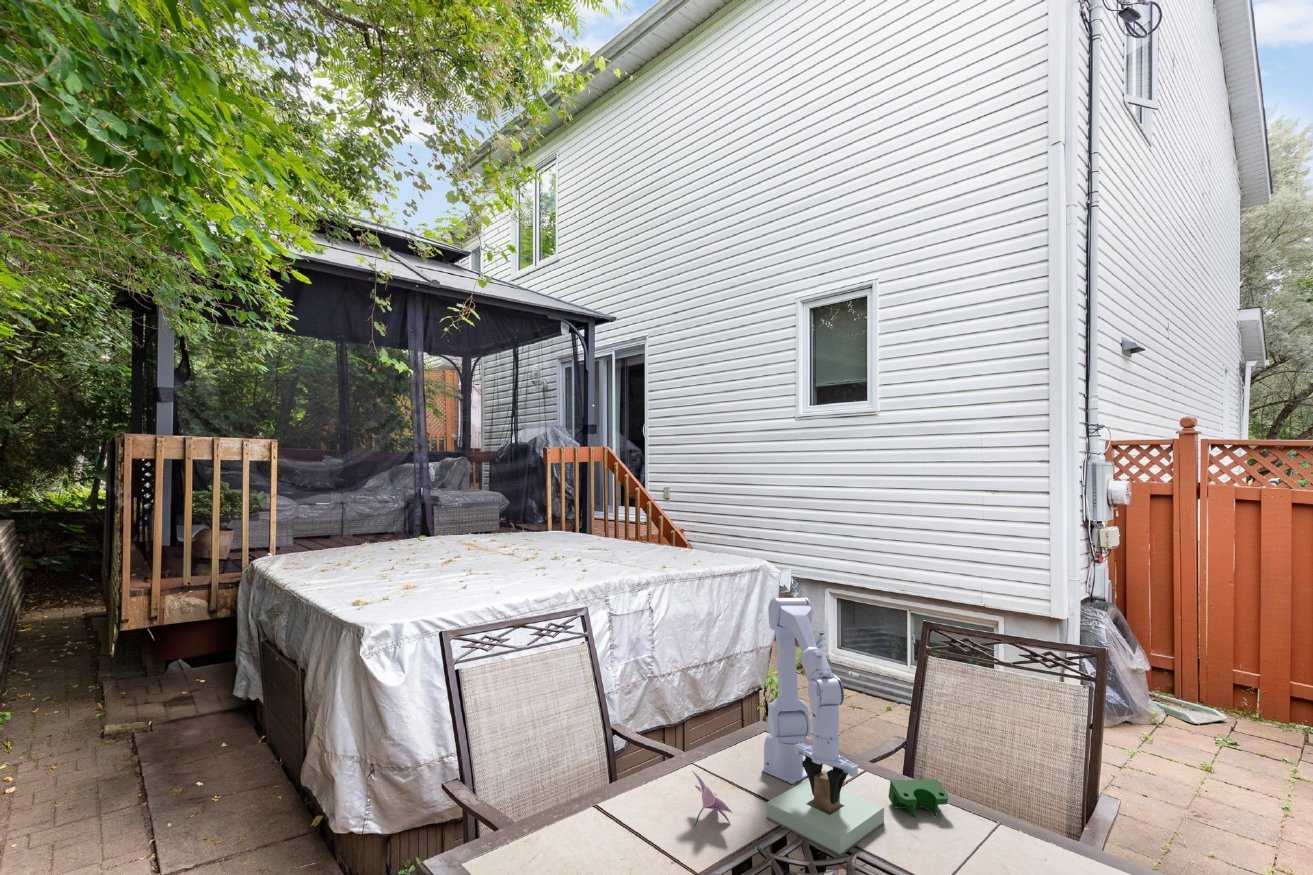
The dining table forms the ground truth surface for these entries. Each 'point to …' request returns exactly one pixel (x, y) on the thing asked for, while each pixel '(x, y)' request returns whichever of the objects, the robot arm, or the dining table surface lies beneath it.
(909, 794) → the clamp
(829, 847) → the well block
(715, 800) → the lily
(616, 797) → the dining table surface
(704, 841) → the dining table surface
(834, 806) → the post
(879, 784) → the dining table surface
